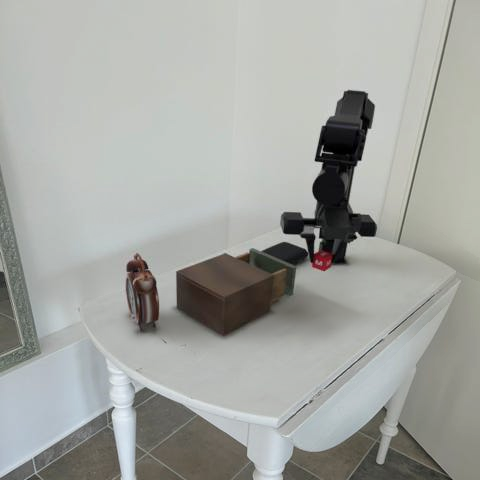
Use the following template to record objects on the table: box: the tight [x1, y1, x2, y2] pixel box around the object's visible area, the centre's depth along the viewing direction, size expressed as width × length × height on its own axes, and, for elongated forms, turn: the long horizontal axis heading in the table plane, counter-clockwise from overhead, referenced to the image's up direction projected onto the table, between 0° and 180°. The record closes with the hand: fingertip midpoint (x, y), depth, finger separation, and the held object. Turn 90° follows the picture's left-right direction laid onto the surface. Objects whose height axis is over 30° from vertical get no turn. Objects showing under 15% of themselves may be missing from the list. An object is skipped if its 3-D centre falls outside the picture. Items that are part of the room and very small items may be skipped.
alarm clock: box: [124, 252, 160, 332], centre depth 96 cm, size 11×5×15 cm, turn 23°
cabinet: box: [175, 252, 274, 337], centre depth 103 cm, size 15×15×9 cm
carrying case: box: [260, 241, 309, 266], centre depth 128 cm, size 11×3×15 cm
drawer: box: [234, 247, 297, 303], centre depth 109 cm, size 15×13×7 cm
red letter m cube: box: [311, 250, 333, 272], centre depth 101 cm, size 3×3×3 cm
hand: (321, 262), depth 101 cm, fingers closed on red letter m cube, 4 cm apart
